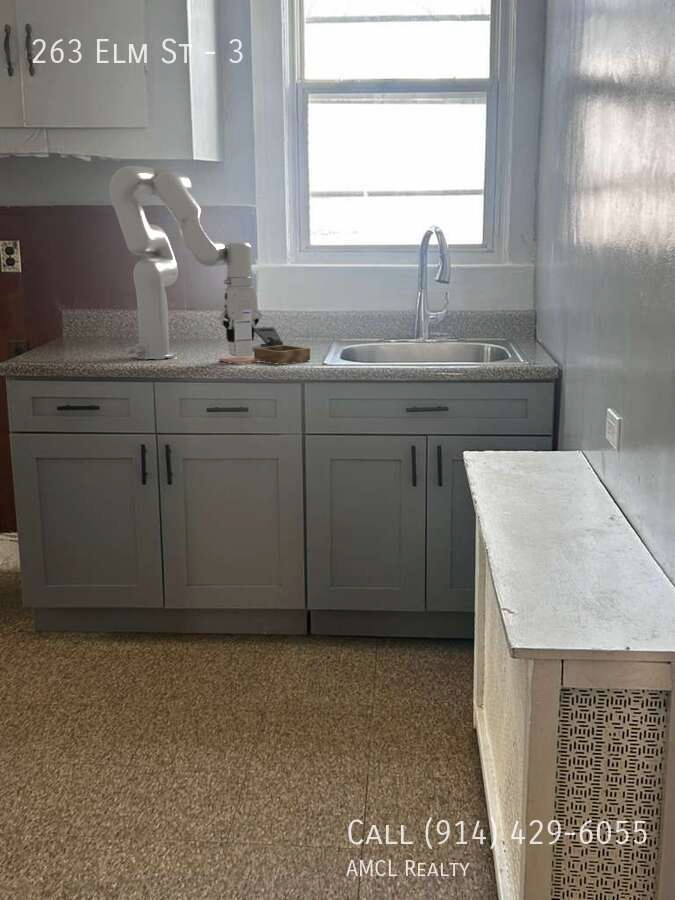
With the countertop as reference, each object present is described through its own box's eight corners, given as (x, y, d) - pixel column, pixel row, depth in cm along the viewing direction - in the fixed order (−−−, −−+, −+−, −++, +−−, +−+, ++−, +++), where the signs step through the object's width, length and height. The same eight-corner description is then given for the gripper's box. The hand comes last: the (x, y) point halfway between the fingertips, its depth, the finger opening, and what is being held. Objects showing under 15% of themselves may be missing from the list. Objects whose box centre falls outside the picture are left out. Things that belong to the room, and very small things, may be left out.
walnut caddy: (280, 365, 322) (280, 352, 321) (254, 361, 331) (254, 348, 330) (310, 361, 330) (309, 348, 330) (283, 357, 339) (283, 344, 338)
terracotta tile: (239, 364, 322) (239, 361, 322) (218, 361, 329) (218, 358, 329) (263, 361, 329) (263, 358, 329) (243, 358, 336) (243, 355, 336)
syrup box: (252, 355, 328) (252, 309, 324) (235, 356, 325) (234, 309, 322) (246, 353, 333) (245, 307, 329) (228, 354, 330) (227, 308, 327)
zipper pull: (276, 326, 367) (291, 335, 343) (276, 345, 368) (291, 355, 345) (250, 327, 365) (264, 335, 341) (251, 346, 366) (264, 356, 343)
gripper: (220, 284, 316) (221, 344, 320) (269, 282, 326) (270, 340, 330) (208, 283, 322) (210, 341, 326) (257, 281, 332) (258, 337, 336)
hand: (240, 340), depth 328 cm, fingers closed on syrup box, 6 cm apart
